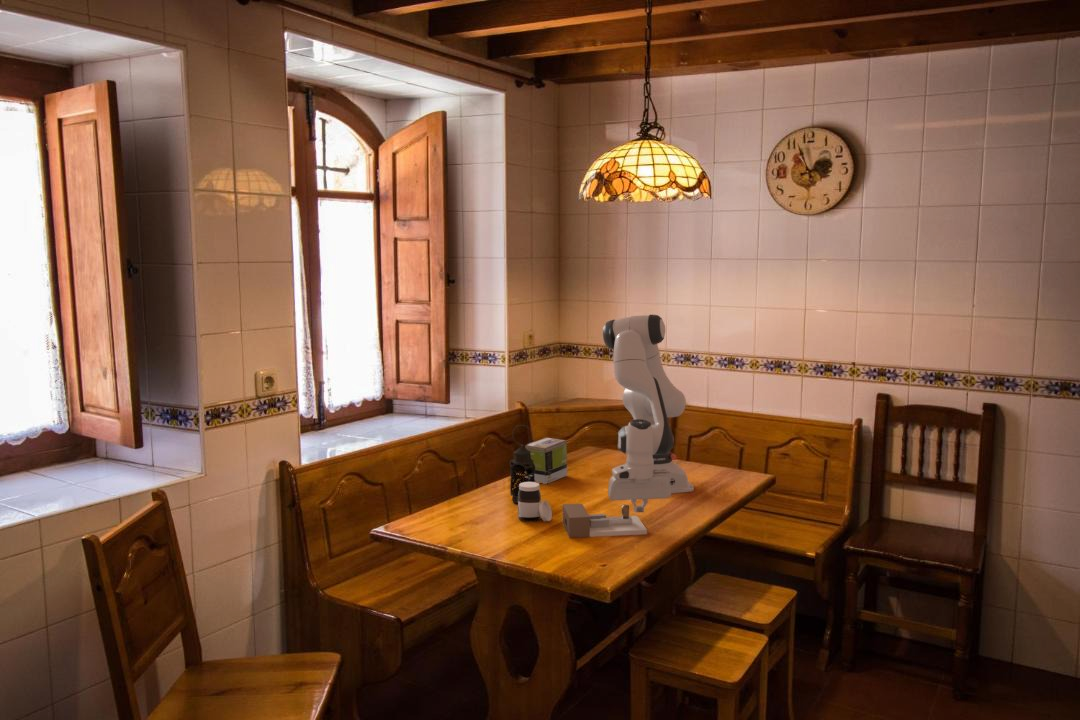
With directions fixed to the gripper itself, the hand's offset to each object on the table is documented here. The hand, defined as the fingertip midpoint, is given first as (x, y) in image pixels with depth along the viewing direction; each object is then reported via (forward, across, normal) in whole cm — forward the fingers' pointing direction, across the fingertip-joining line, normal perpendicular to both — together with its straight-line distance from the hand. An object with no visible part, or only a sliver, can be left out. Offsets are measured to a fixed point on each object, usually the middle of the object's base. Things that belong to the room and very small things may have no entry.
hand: (639, 512), depth 281 cm
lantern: (+5, +34, -33) cm, 48 cm away
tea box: (+5, +22, -61) cm, 65 cm away
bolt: (+4, +7, 0) cm, 8 cm away
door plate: (+5, +12, 0) cm, 13 cm away
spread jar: (+6, +32, -13) cm, 35 cm away
